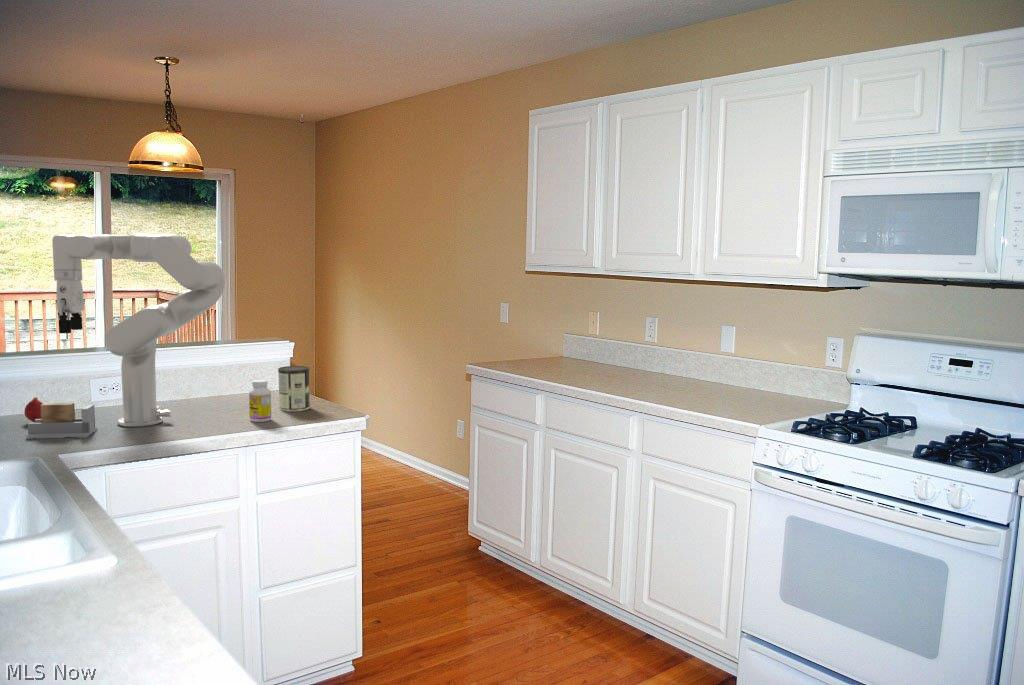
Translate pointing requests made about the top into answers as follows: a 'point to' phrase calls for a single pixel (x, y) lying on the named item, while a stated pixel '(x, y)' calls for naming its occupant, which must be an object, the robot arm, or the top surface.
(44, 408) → the door slab
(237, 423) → the top surface
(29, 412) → the onion
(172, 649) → the top surface
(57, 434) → the track
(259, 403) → the supplement bottle
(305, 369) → the coffee can
